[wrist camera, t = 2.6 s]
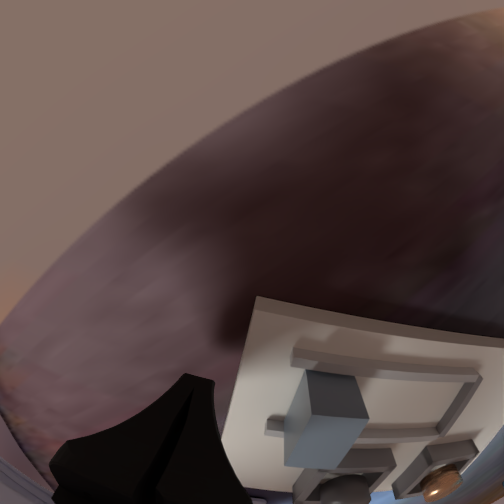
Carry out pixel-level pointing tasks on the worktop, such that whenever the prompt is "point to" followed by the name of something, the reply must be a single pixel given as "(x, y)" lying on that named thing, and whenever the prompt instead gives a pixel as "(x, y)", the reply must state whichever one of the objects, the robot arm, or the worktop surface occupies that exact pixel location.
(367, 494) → the black button
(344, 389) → the block
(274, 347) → the control panel
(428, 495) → the copper button
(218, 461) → the robot arm
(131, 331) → the worktop surface
